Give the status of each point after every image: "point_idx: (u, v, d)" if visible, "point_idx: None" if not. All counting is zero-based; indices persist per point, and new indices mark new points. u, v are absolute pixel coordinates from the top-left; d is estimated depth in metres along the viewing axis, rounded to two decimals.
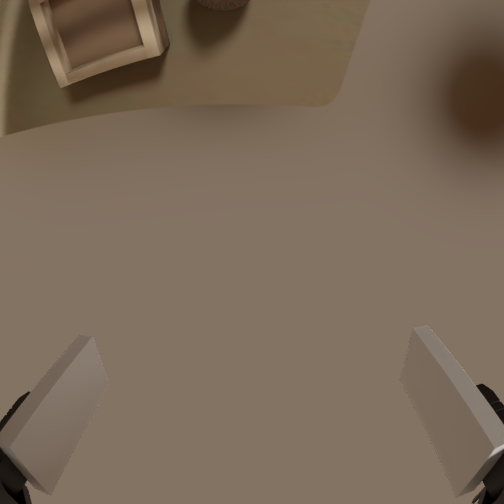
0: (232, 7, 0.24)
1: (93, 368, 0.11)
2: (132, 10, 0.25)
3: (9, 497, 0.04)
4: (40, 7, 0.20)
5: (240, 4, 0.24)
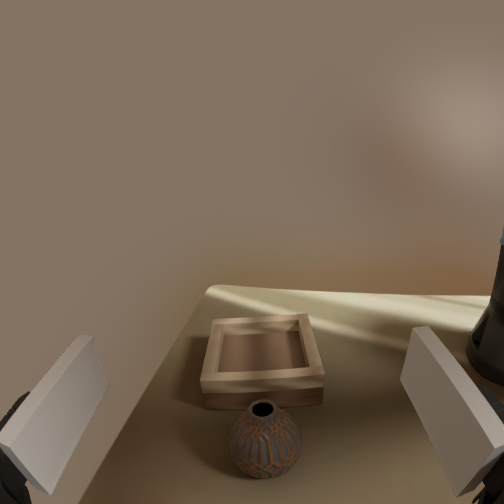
0: (231, 435, 0.24)
1: (93, 368, 0.11)
2: None
3: (9, 497, 0.04)
4: (294, 319, 0.45)
5: (233, 443, 0.24)
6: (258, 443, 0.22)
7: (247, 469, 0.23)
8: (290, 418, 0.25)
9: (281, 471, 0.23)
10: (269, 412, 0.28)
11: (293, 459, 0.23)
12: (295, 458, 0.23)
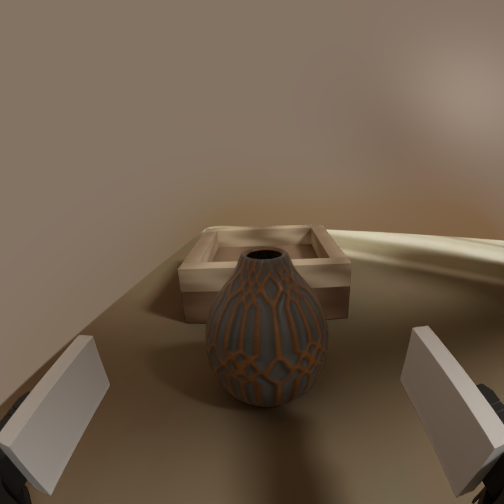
0: (210, 313, 0.16)
1: (93, 368, 0.11)
2: None
3: (9, 497, 0.04)
4: (305, 228, 0.36)
5: (212, 324, 0.16)
6: (254, 312, 0.14)
7: (233, 376, 0.15)
8: (309, 286, 0.17)
9: (295, 384, 0.15)
10: None
11: (316, 360, 0.15)
12: (319, 360, 0.15)
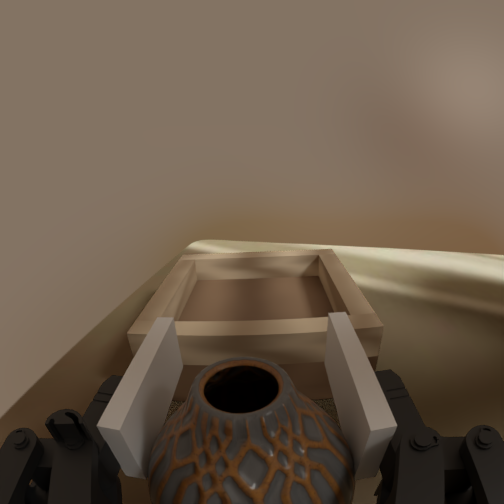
0: (149, 462, 0.07)
1: (173, 349, 0.13)
2: None
3: (103, 495, 0.05)
4: (311, 255, 0.28)
5: (151, 486, 0.07)
6: None
7: None
8: (329, 421, 0.08)
9: None
10: None
11: None
12: None
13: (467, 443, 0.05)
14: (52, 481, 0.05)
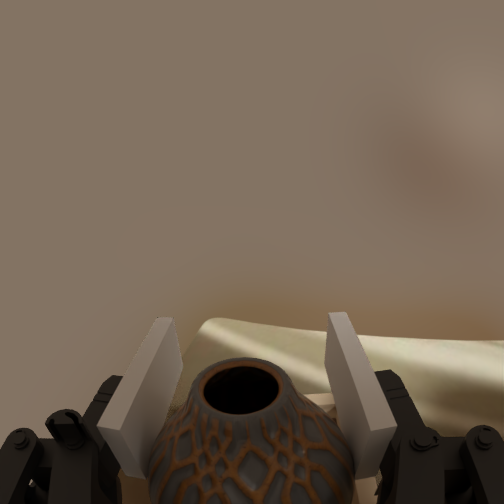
0: (149, 463, 0.07)
1: (173, 349, 0.13)
2: None
3: (103, 495, 0.05)
4: (331, 403, 0.25)
5: (151, 487, 0.07)
6: None
7: None
8: (330, 422, 0.08)
9: None
10: (267, 407, 0.11)
11: None
12: None
13: (467, 443, 0.05)
14: (52, 481, 0.05)
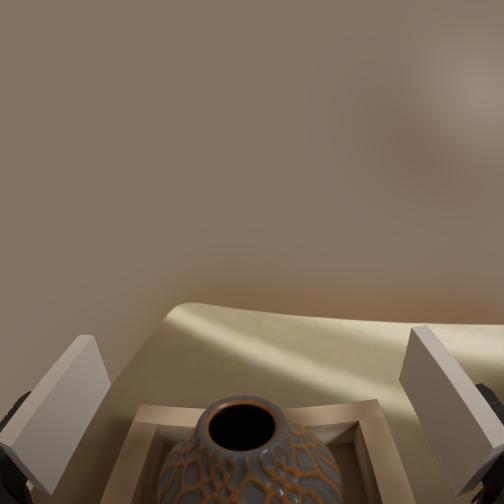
0: (159, 484, 0.08)
1: (94, 368, 0.11)
2: None
3: (10, 497, 0.04)
4: (347, 421, 0.14)
5: None
6: None
7: None
8: (321, 450, 0.08)
9: None
10: (265, 429, 0.12)
11: None
12: None
13: None
14: None
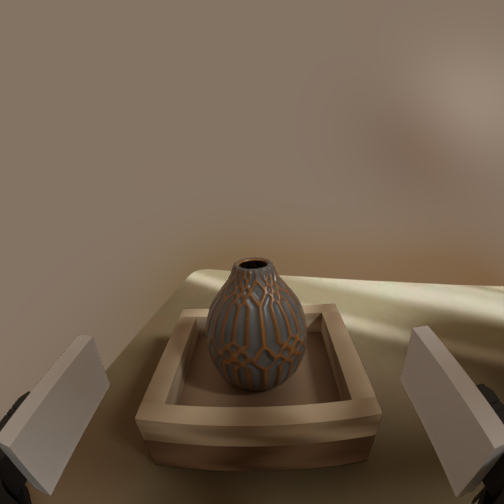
0: (209, 312, 0.20)
1: (93, 368, 0.11)
2: None
3: (9, 497, 0.04)
4: (314, 313, 0.27)
5: (211, 321, 0.19)
6: (245, 311, 0.18)
7: (228, 363, 0.18)
8: (290, 289, 0.20)
9: (278, 370, 0.18)
10: None
11: (295, 350, 0.19)
12: (298, 351, 0.19)
13: None
14: None
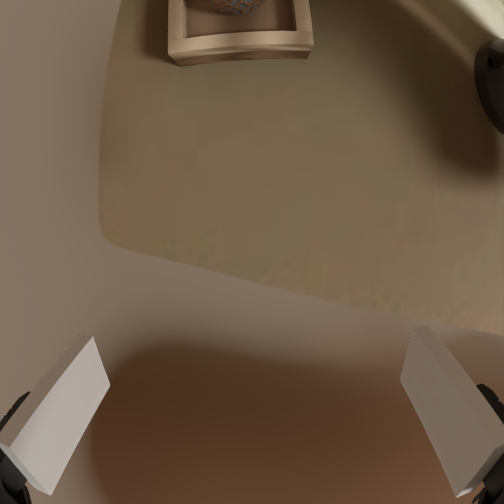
0: None
1: (93, 368, 0.11)
2: (232, 32, 0.26)
3: (9, 497, 0.04)
4: None
5: None
6: None
7: (218, 7, 0.22)
8: None
9: (251, 8, 0.23)
10: None
11: None
12: None
13: None
14: None
